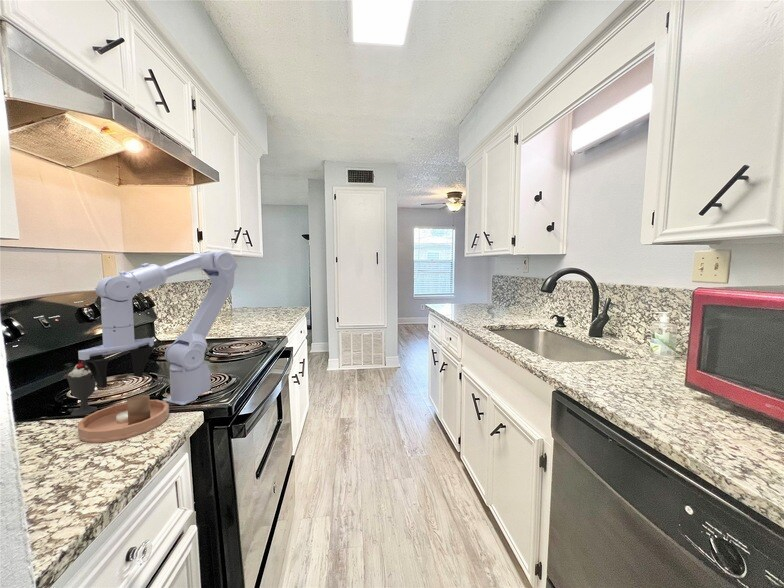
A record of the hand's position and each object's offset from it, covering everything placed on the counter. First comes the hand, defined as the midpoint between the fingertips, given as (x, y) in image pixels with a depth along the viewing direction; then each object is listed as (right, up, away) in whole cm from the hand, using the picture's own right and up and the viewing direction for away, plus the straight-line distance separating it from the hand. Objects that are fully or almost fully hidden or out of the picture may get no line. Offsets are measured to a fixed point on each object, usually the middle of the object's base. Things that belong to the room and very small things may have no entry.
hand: (121, 381), depth 75 cm
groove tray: (+3, -10, -2) cm, 10 cm away
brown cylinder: (+7, -9, -4) cm, 12 cm away
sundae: (-13, -9, +4) cm, 16 cm away
